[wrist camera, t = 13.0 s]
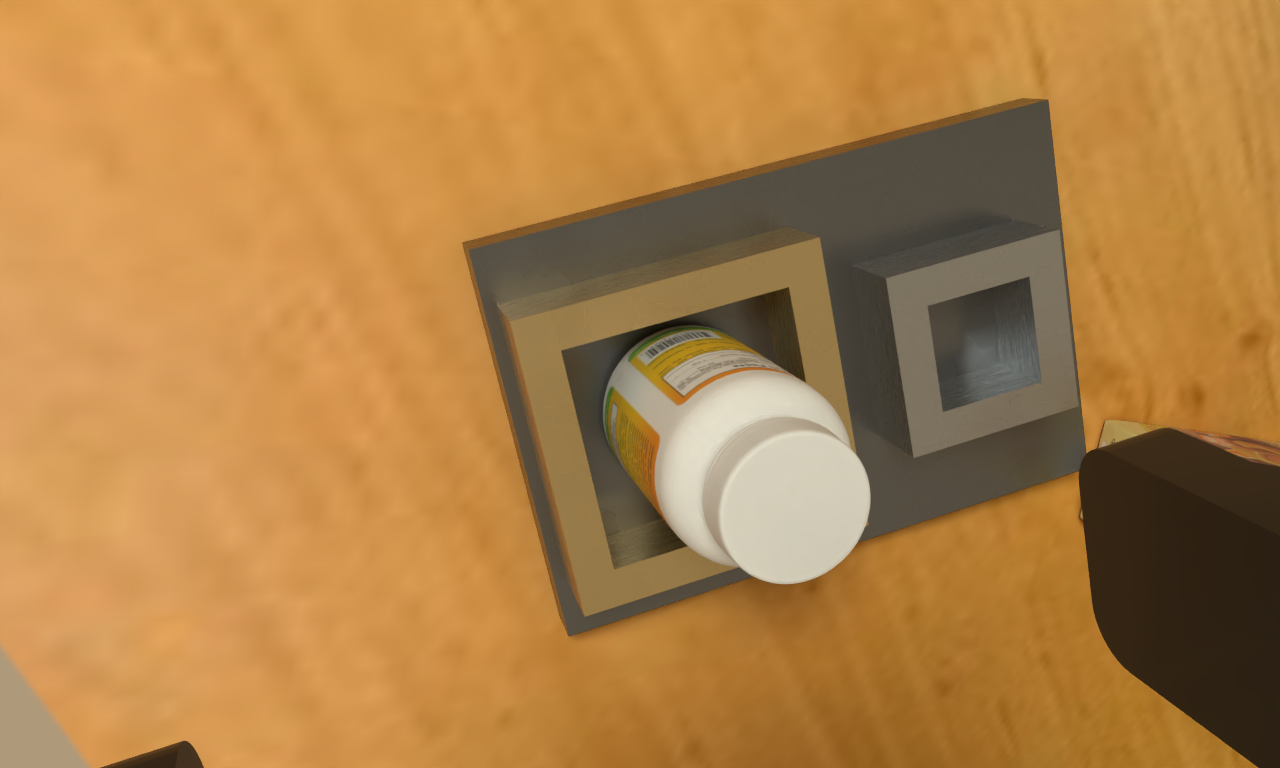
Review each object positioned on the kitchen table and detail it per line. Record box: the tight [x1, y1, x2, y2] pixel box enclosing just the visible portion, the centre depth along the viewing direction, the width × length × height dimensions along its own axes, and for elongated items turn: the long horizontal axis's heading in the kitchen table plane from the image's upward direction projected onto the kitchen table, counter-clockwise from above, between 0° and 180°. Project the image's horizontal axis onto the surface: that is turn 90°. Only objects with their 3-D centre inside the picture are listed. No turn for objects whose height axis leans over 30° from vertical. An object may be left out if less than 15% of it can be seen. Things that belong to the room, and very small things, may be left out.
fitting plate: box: [462, 98, 1086, 636], centre depth 39 cm, size 19×13×4 cm
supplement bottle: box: [603, 325, 871, 584], centre depth 34 cm, size 5×5×10 cm
